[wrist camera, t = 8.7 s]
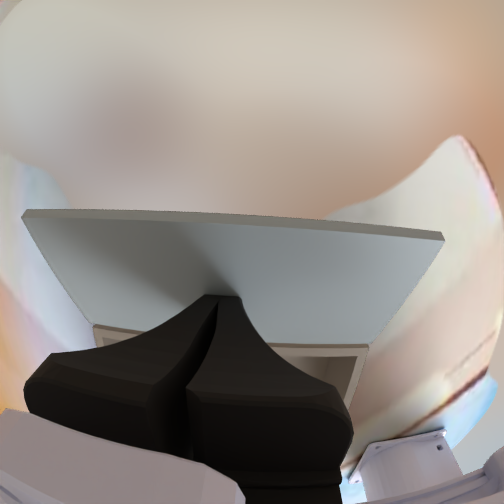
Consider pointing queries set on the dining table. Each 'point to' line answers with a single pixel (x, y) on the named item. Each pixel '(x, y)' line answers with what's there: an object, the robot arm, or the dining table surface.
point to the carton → (290, 358)
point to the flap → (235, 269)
